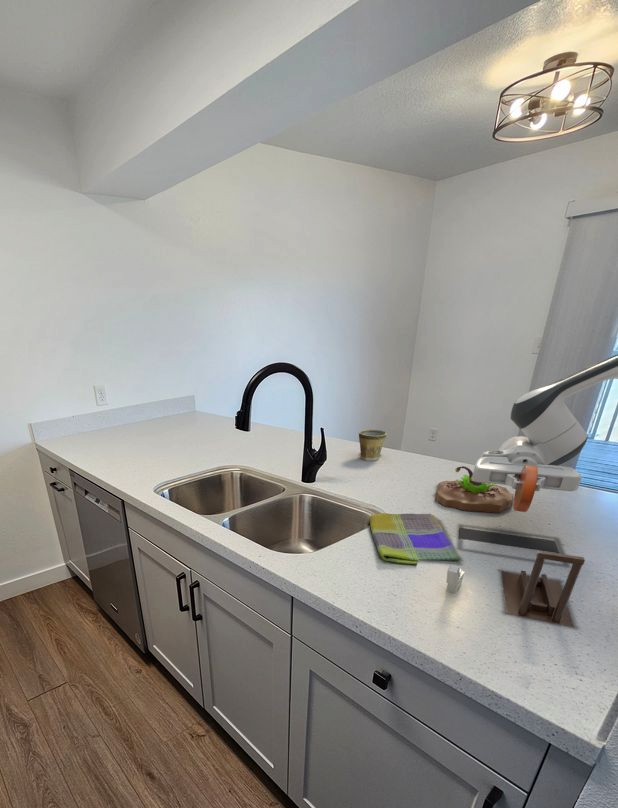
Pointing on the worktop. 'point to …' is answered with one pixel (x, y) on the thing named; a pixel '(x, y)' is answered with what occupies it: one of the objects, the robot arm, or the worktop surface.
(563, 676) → the worktop surface
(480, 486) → the plant
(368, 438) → the ceramic cup
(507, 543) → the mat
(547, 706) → the worktop surface
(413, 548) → the dish towel
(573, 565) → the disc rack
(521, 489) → the disc
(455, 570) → the lighter
